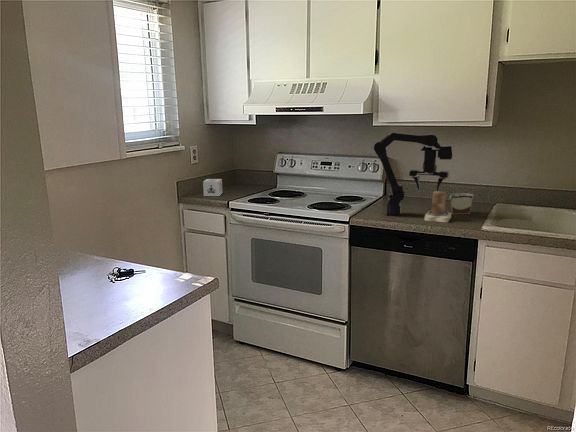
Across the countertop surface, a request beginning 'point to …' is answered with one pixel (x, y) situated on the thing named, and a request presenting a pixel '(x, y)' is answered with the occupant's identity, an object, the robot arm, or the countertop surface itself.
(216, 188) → the icon cube
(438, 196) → the tan orange upright block
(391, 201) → the robot arm
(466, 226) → the countertop surface
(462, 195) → the food container
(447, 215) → the base plate
